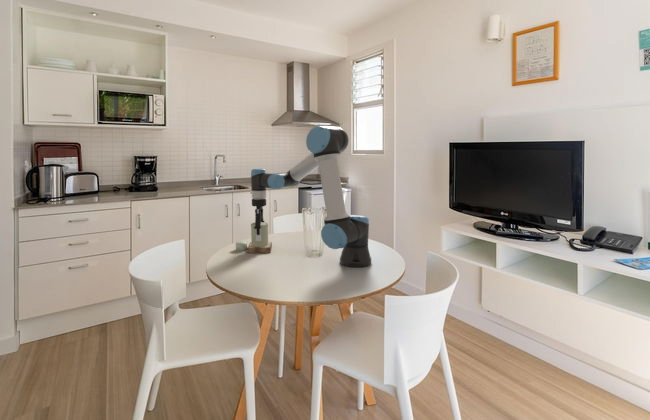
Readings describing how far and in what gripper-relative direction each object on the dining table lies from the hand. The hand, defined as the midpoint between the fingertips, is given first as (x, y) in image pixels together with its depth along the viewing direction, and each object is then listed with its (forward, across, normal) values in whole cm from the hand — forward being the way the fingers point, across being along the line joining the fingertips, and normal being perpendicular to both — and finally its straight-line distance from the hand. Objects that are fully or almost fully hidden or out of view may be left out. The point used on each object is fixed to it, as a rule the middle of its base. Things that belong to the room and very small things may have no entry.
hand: (259, 237), depth 195 cm
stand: (+7, 0, 0) cm, 7 cm away
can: (+4, 0, 0) cm, 4 cm away
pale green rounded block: (+7, -1, -10) cm, 12 cm away
